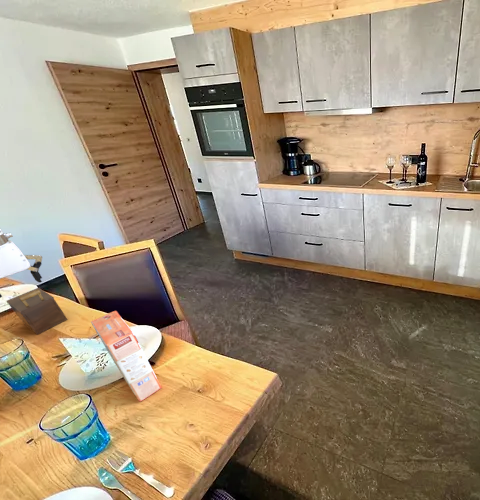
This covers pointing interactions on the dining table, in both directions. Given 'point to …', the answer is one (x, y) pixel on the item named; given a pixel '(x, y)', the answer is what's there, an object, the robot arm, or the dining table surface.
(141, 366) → the cracker box
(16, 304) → the lid
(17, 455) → the dining table surface
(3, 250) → the robot arm
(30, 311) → the chest
